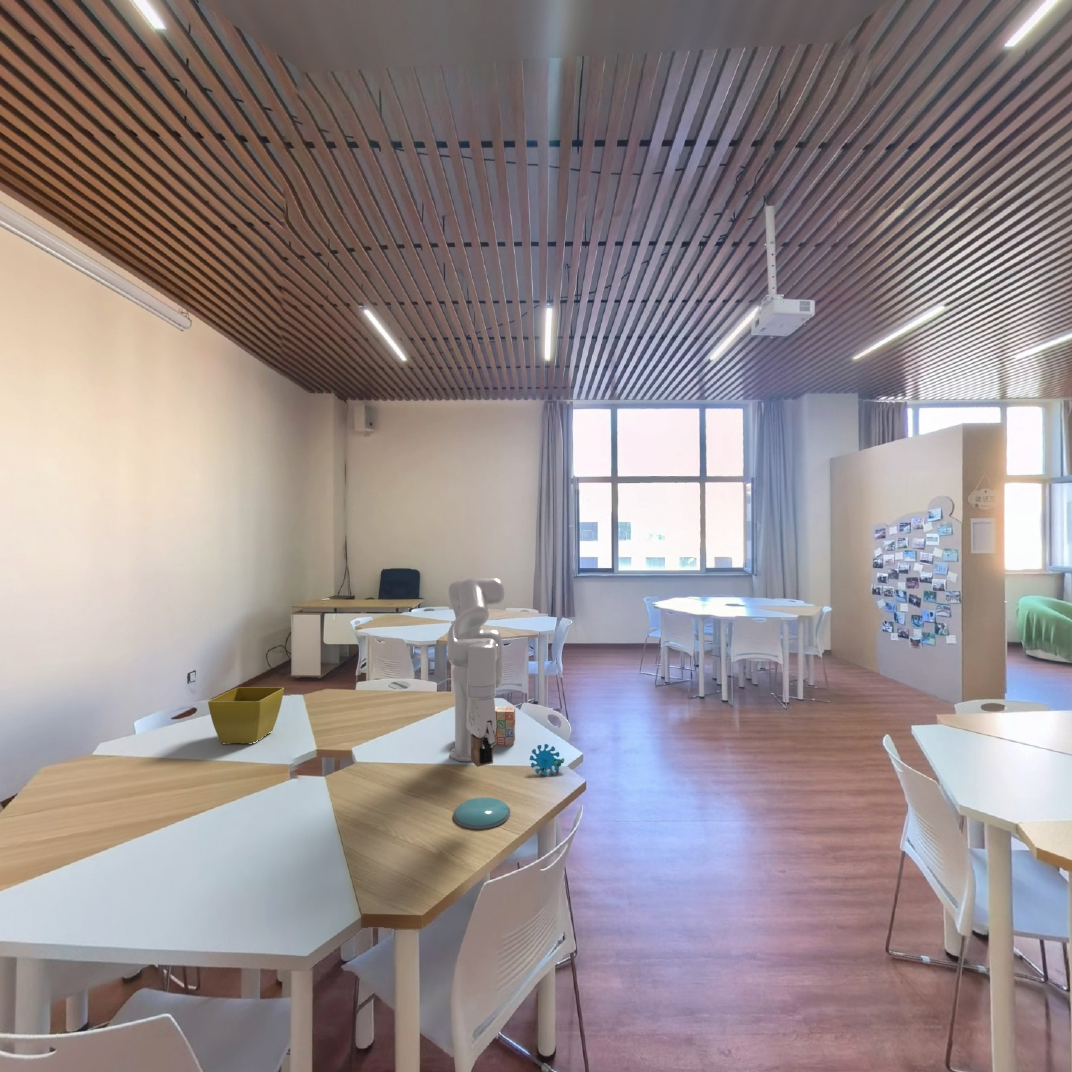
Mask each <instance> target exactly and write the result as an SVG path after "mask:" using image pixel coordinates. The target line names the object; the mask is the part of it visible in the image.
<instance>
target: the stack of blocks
mask: <svg viewBox="0 0 1072 1072" xmlns="http://www.w3.org/2000/svg"><path fill="white" fill-rule="evenodd" d="M495 714H496V732H495V735H494V738H495V741H494V742H493V746H514V744H515V742H516V706H506V705H505V706H504V705H503V706H502V705H499V706H496V705H495Z"/></svg>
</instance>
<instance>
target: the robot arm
mask: <svg viewBox="0 0 1072 1072" xmlns="http://www.w3.org/2000/svg"><path fill="white" fill-rule="evenodd" d="M504 598H505V588H504V584H503V582H502V580H501V579H499V578H497V577H496V578H495V577H486V578H484V577H483V578H482V577H479V578H478V577H477V578H469V579H468V578H467V579H465V580H458V581H457V580H456V581H454V582H451V584H450V585H449V586H448V599H449V601H450V605H451V607H452V611H453V613H454V617H455V619H454V620H453V622H452V624H451V625H450V627H449V629H448V631H447V642H446V643H447V645H446V646H447V658H448V661H449V663H450V664H451V665H452V666H453V668H452V672H451V673H452V674H451V675H452V685H453V691H454V692H453V693H454V748H452V750H450V753H449V754H450V758H451V759H453V760H456V761H458V762H472V761H471V734H474V735H475V736H476V737H477V738H480V740H481V748H480V763H481V764H485V763H489V762H491V761H492V744H493V742H494V741H495V738H494V735H495V732H496V714H495V706H496V704H495V697H496V696H497V695H496V694H497V693H496V690H497V689H499V688H501V687H502V685H503V683H504V682H503V681H504V659H503V658H504V656H503V654H504V653H503V639H502V636H501V633H500V632H499V631H498V630H496V629H493V628H490V629H488V628H487V629H482V628H481V627H482V626H483V625H484V624H485V623H486V622H488V619H489V616H490V614H489V607H488V606H489V605H490V606H493V605H494V606H495V605H500V604H502V603H503V602H504ZM485 733H487V735H485ZM484 738H488V739H487V740H485V742H484Z"/></svg>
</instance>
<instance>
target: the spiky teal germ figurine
mask: <svg viewBox="0 0 1072 1072" xmlns="http://www.w3.org/2000/svg"><path fill="white" fill-rule="evenodd" d="M536 747H537V749H536V748H533V749H532V750H531V753H532V754H531V755H530V756H529V761H532V762H531V763H530V767H531V768H532V769H533V768H535V767H537V768H535V769H534V771H535V773H536V774H537V775H538V774H540V771H542V770H544V771H542V773H541V776H543V777H546V776H547V771H548V770H549V773H548V774H549V776H553V775H554V774H555V773H554V770H555V771H559V769H560V767H561V766H562V764H564V762H565V758H559V757H560V752H559V751H557V752H555V751H556V747H555V746H551V747H550V749H548V748H549V744H548V743H544V749H543V750H541V749H542V745H541V744H538V745H537V746H536ZM547 749H548V750H547ZM537 750H538V753H537ZM553 752H555V753H553ZM533 755H534V756H533ZM554 756H555V757H554ZM556 757H557V758H556ZM533 761H534V762H533ZM535 762H536V763H535ZM553 767H554V770H553Z"/></svg>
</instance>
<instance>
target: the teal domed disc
mask: <svg viewBox="0 0 1072 1072" xmlns="http://www.w3.org/2000/svg"><path fill="white" fill-rule="evenodd" d="M510 816H511V809H510V806H508V804H506V802H504V800H503V801H502V800H501V799H497V798H493V797H475V798H471V799H468V800H465V801H464V802H462V803H460V804H459V805H458V806H456V808H455V809H454V810H453V820H454V822H455V823H456V824H457V825H458V826H460V827H462V828H465V829H468V830H475V831H476V830H482V831H483V830H490V829H494V828H497V827H499V826H501V825H503V824H504V823H506V822H507V821H508V820H509V818H510Z"/></svg>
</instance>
